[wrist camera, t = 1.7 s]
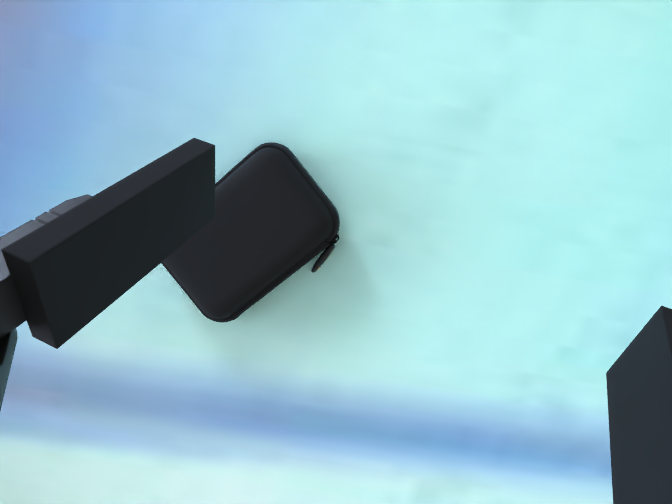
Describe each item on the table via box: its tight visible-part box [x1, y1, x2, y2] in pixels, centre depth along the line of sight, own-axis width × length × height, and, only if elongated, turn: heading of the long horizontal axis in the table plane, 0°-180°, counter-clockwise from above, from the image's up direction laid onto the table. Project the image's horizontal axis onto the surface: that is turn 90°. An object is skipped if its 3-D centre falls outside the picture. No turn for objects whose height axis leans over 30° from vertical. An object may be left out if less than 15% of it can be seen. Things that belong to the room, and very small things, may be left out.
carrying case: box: [161, 143, 340, 322], centre depth 40 cm, size 11×3×15 cm
